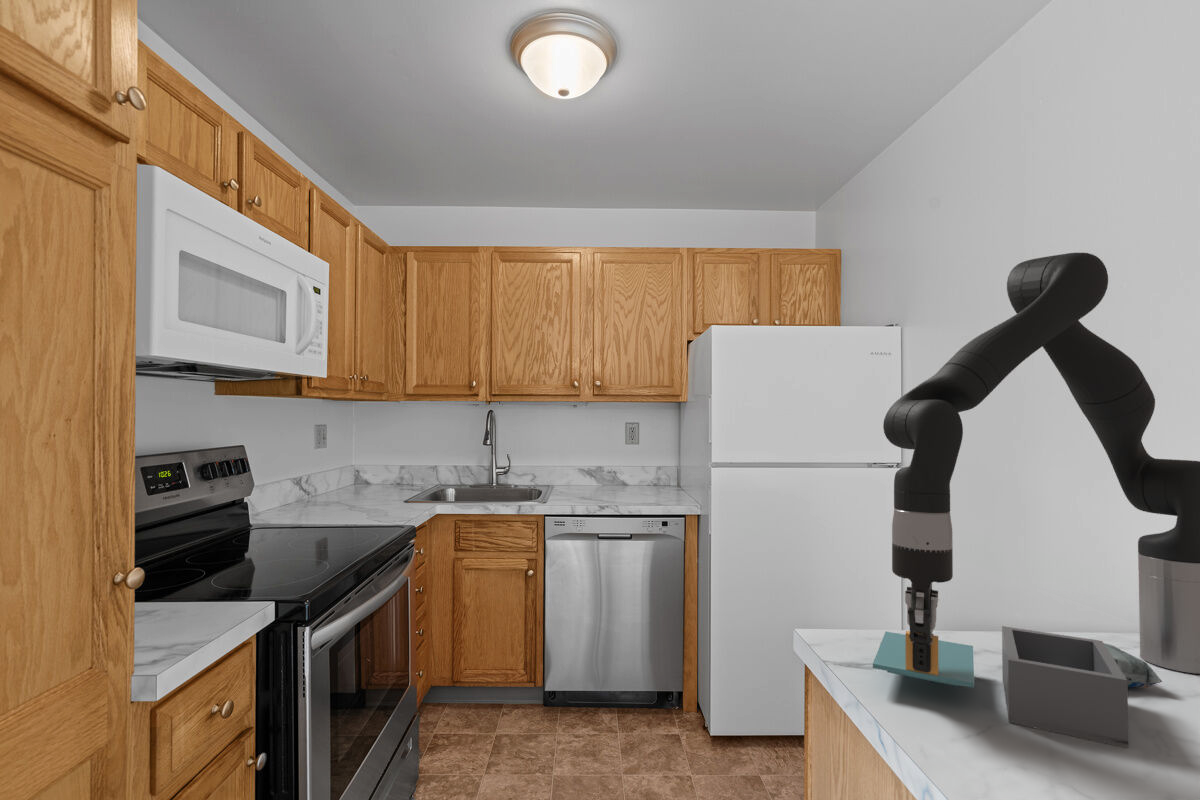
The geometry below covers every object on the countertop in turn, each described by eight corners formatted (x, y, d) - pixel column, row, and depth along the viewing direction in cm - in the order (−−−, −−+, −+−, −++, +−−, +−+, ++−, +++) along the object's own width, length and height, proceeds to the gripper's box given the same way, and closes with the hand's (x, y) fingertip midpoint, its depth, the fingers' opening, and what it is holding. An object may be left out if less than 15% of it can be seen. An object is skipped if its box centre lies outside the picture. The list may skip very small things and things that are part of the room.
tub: (1002, 679, 95) (1002, 626, 95) (1103, 697, 89) (1102, 640, 89) (1008, 722, 81) (1008, 659, 81) (1128, 747, 75) (1127, 680, 75)
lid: (885, 639, 103) (885, 600, 103) (973, 655, 97) (972, 613, 97) (872, 673, 89) (872, 628, 89) (974, 693, 83) (973, 645, 83)
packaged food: (1099, 694, 90) (1099, 659, 90) (1048, 662, 102) (1048, 632, 102) (1164, 698, 89) (1164, 663, 90) (1105, 666, 101) (1105, 635, 101)
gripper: (951, 554, 79) (952, 692, 79) (953, 538, 91) (953, 658, 90) (887, 547, 83) (887, 679, 83) (896, 532, 95) (896, 648, 94)
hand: (922, 668), depth 86 cm, fingers closed on lid, 1 cm apart
